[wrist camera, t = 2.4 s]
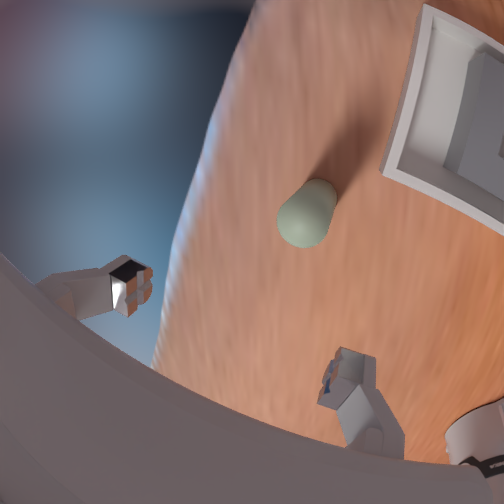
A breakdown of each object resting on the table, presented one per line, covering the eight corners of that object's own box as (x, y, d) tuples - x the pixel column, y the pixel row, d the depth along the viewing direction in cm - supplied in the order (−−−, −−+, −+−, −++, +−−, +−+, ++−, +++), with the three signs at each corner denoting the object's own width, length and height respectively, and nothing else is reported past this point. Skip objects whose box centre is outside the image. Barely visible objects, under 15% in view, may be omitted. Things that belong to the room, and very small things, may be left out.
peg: (342, 186, 28) (335, 208, 20) (330, 221, 30) (318, 255, 22) (305, 173, 29) (284, 189, 21) (295, 208, 30) (271, 237, 23)
